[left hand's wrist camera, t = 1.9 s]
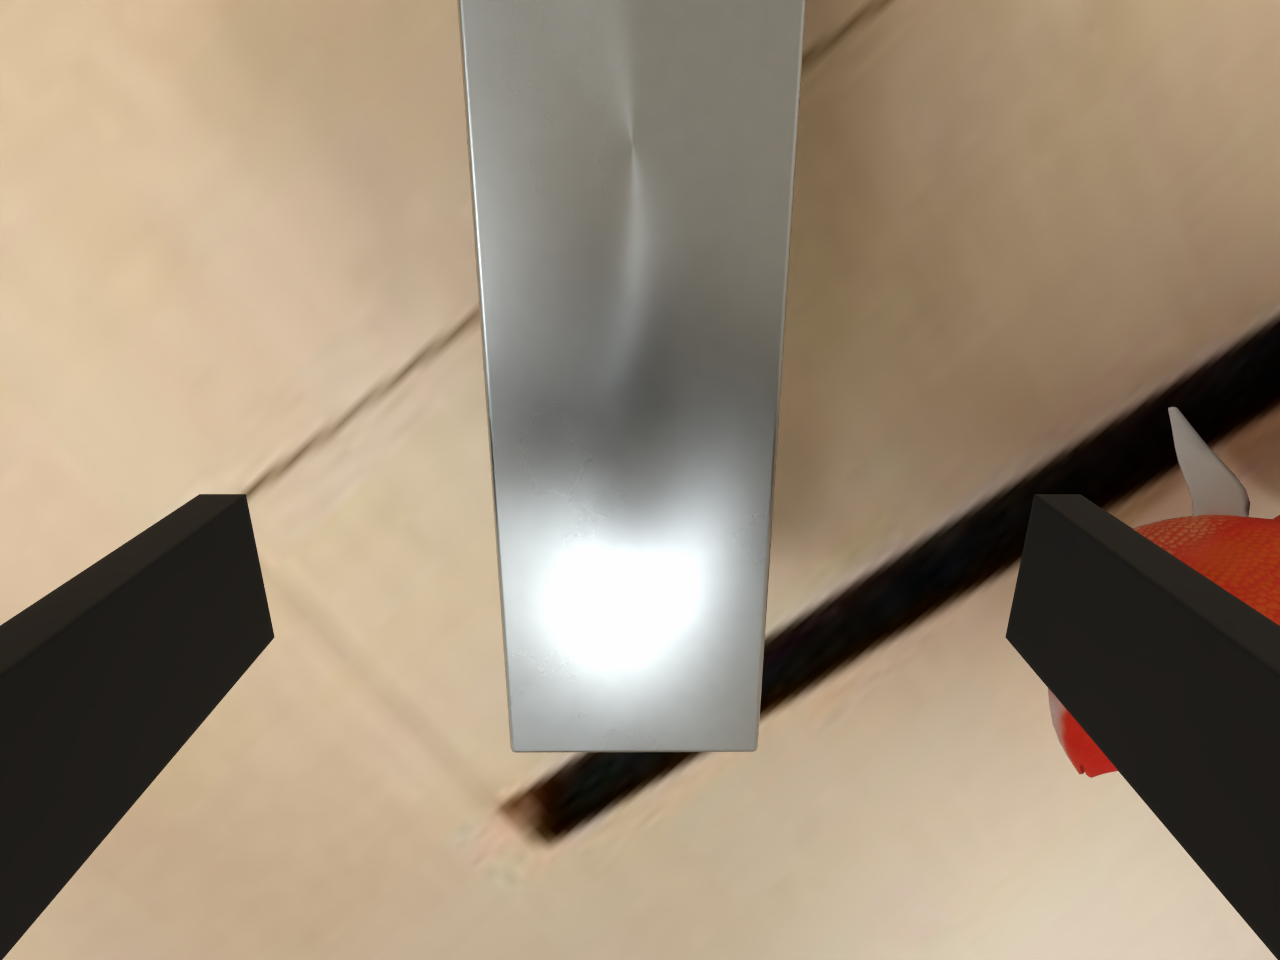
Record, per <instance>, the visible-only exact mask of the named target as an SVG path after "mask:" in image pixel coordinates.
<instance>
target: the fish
mask: <svg viewBox="0 0 1280 960" xmlns="http://www.w3.org/2000/svg"><path fill="white" fill-rule="evenodd" d="M1168 411H1169V416H1170V421H1171V426H1172V432H1173V438H1174V444H1175V449H1176V454H1177V458H1178V462H1179V464H1180V467H1181V470H1182V473H1183V475H1184V478H1185V481H1186V483H1187V486H1188V488H1189V492H1190V495H1191V498H1192V505H1193V514H1192V516H1188V517H1180V518H1174V519H1167V520H1162V521H1158V522H1154V523H1150V524H1146V525H1143V526H1140V527H1136V528H1133V529H1134V530H1135V531H1137V532H1138V533H1140V534H1141V535H1143V536H1144V537H1146V538H1147V539H1149V540H1150V541H1152V542H1153V543H1155V544H1156V545H1158V546H1159V547H1161V548H1162V549H1164V550H1165V551H1167V552H1168V553H1170V554H1172V555H1173V556H1175V557H1176V558H1178V559H1179V560H1181V561H1182V562H1184V563H1185V564H1187V565H1188V566H1190V567H1191V568H1193V569H1194V570H1196V571H1197V572H1199V573H1200V574H1202V575H1203V576H1205V577H1206V578H1208V579H1209V580H1211V581H1213V582H1214V583H1216V584H1217V585H1219V586H1220V587H1222V588H1223V589H1225V590H1226V591H1228V592H1229V593H1231V594H1232V595H1234V596H1235V597H1237V598H1238V599H1240V600H1241V601H1243V602H1244V603H1246V604H1247V605H1249V606H1250V607H1252V608H1253V609H1255V610H1257V611H1258V612H1260V613H1261V614H1263V615H1264V616H1266V617H1267V618H1269V619H1270V620H1272V621H1273V622H1275V623H1276V624H1278V625H1279V626H1280V515H1279V516H1277V517H1276V518H1274V519H1263V518H1251V517H1248V515H1249V508H1250V501H1249V498H1248V495H1247V492H1246V489H1245V488H1244V487H1243V485H1242V484H1241V483H1240V481H1239V480H1238V479H1237V477H1236V476H1235V475H1234V474H1233V473H1232V472H1231V471H1230V469H1229V468H1228V467H1227V466H1226V465H1225V464H1224V463H1223V462H1222V461H1221V460H1220V459H1219V458H1218V457H1217V455H1216V454H1215V453H1214V452H1213V451H1212V450H1211V449H1210V448H1209V447H1208V445H1207V444H1206V443H1205V442H1204V441H1203V439H1202V438H1201V437H1200V436H1199V435H1198V433H1197V432H1196V431H1195V430H1194V429H1193V427H1192V426H1191V425H1190V423H1189V422H1188V421H1187V420H1186V418H1185V417H1184V416H1183V414H1182V413H1181V412H1180V411H1179V409H1178V408H1176V407H1170V408H1168ZM1048 694H1049V705H1050V711H1051V716H1052V722H1053V726H1054V728H1055V731H1056V734H1057V736H1058V739H1059V742H1060V743H1061V745H1062V747H1063V749H1064V751H1065V753H1066V754H1067V756H1068V758H1069V759H1070V761H1071V762H1072V764H1073V765H1074V767H1075V768H1076V770H1077V771H1078V773H1079V774H1083V773H1084V772H1085V773H1086V775H1088V776H1089V777H1091V778H1092V777H1095V776H1097V775H1101V774H1105V773H1109V772H1114V771H1118V770H1117V769H1116V767H1115V766H1114V765H1113V764H1112V763H1111V761H1110V760H1109V759H1108V758H1107V757H1106V756H1105V754H1104V753H1103V752H1102V751H1101V750H1100V748H1099V747H1098V746H1097V745H1096V744H1095V743H1094V741H1093V740H1092V739H1091V738H1090V737H1089V735H1088V734H1087V733H1086V732H1085V731H1084V729H1083V728H1082V727H1081V726H1080V725H1079V724H1078V722H1077V721H1076V720H1075V719H1074V718H1073V716H1072V715H1071V714H1070V713H1069V712H1068V711H1067V709H1066V708H1065V707H1064V706H1063V705H1062V703H1061V702H1060V701H1059V700H1058V699H1057V698H1056V696H1055V695H1054V694H1053V693H1052V692H1051V690H1050V689H1049V688H1048Z"/></svg>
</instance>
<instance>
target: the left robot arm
mask: <svg viewBox="0 0 1280 960" xmlns="http://www.w3.org/2000/svg"><path fill="white" fill-rule="evenodd" d="M273 638H274V633H273V628H272V623H271V618H270V613H269V608H268V603H267V598H266V593H265V588H264V583H263V578H262V573H261V568H260V563H259V558H258V553H257V548H256V543H255V538H254V533H253V528H252V523H251V518H250V513H249V508H248V503H247V498H246V494H200V495H198V496H196V497H195V498H193V499H192V500H190V501H189V502H187V503H186V504H184V505H183V506H181V507H180V508H178V509H177V510H175V511H174V512H172V513H171V514H169V515H168V516H166V517H165V518H163V519H162V520H160V521H159V522H157V523H156V524H154V525H152V526H151V527H149V528H148V529H146V530H145V531H143V532H142V533H140V534H139V535H137V536H136V537H134V538H133V539H131V540H130V541H128V542H127V543H125V544H124V545H122V546H121V547H119V548H118V549H116V550H115V551H113V552H111V553H110V554H108V555H107V556H105V557H104V558H102V559H101V560H99V561H98V562H96V563H95V564H93V565H92V566H90V567H89V568H87V569H86V570H84V571H83V572H81V573H80V574H78V575H77V576H75V577H74V578H72V579H71V580H69V581H67V582H66V583H64V584H63V585H61V586H60V587H58V588H57V589H55V590H54V591H52V592H51V593H49V594H48V595H46V596H45V597H43V598H42V599H40V600H39V601H37V602H36V603H34V604H33V605H31V606H30V607H28V608H27V609H25V610H23V611H22V612H20V613H19V614H17V615H16V616H14V617H13V618H11V619H10V620H8V621H7V622H5V623H4V624H2V625H1V626H0V960H2V959H3V958H4V957H5V956H6V955H7V953H8V952H9V951H10V950H11V949H12V947H13V946H14V945H15V944H16V943H17V941H18V940H19V939H20V938H21V937H22V936H23V934H24V933H25V932H26V931H27V930H28V928H29V927H30V926H31V925H32V924H33V923H34V921H35V920H36V919H37V918H38V917H39V915H40V914H41V913H42V912H43V911H44V910H45V908H46V907H47V906H48V905H49V904H50V902H51V901H52V900H53V899H54V898H55V896H56V895H57V894H58V893H59V892H60V891H61V889H62V888H63V887H64V886H65V885H66V883H67V882H68V881H69V880H70V879H71V878H72V876H73V875H74V874H75V873H76V872H77V870H78V869H79V868H80V867H81V866H82V865H83V863H84V862H85V861H86V860H87V859H88V857H89V856H90V855H91V854H92V853H93V851H94V850H95V849H96V848H97V847H98V846H99V844H100V843H101V842H102V841H103V840H104V838H105V837H106V836H107V835H108V834H109V833H110V831H111V830H112V829H113V828H114V827H115V825H116V824H117V823H118V822H119V821H120V820H121V818H122V817H123V816H124V815H125V814H126V812H127V811H128V810H129V809H130V808H131V806H132V805H133V804H134V803H135V802H136V801H137V799H138V798H139V797H140V796H141V795H142V793H143V792H144V791H145V790H146V789H147V788H148V786H149V785H150V784H151V783H152V782H153V780H154V779H155V778H156V777H157V776H158V775H159V773H160V772H161V771H162V770H163V769H164V767H165V766H166V765H167V764H168V763H169V761H170V760H171V759H172V758H173V757H174V756H175V754H176V753H177V752H178V751H179V750H180V748H181V747H182V746H183V745H184V744H185V743H186V741H187V740H188V739H189V738H190V737H191V735H192V734H193V733H194V732H195V731H196V729H197V728H198V727H199V726H200V725H201V724H202V722H203V721H204V720H205V719H206V718H207V716H208V715H209V714H210V713H211V712H212V711H213V709H214V708H215V707H216V706H217V705H218V703H219V702H220V701H221V700H222V699H223V698H224V696H225V695H226V694H227V693H228V692H229V690H230V689H231V688H232V687H233V686H234V684H235V683H236V682H237V681H238V680H239V679H240V677H241V676H242V675H243V674H244V673H245V671H246V670H247V669H248V668H249V667H250V666H251V664H252V663H253V662H254V661H255V660H256V658H257V657H258V656H259V655H260V654H261V653H262V651H263V650H264V649H265V648H266V647H267V645H268V644H269V643H270V642H271V641H272V639H273ZM1006 638H1007V639H1008V641H1009V642H1010V643H1011V644H1012V645H1013V647H1014V648H1015V649H1016V650H1017V651H1018V653H1019V654H1020V655H1021V656H1022V657H1023V658H1024V660H1025V661H1026V662H1027V663H1028V664H1029V666H1030V667H1031V668H1032V669H1033V670H1034V671H1035V673H1036V674H1037V675H1038V676H1039V677H1040V679H1041V680H1042V681H1043V682H1044V683H1045V684H1046V686H1047V687H1048V688H1049V689H1050V690H1051V692H1052V693H1053V694H1054V695H1055V696H1056V698H1057V699H1058V700H1059V701H1060V702H1061V703H1062V705H1063V706H1064V707H1065V708H1066V709H1067V711H1068V712H1069V713H1070V714H1071V715H1072V716H1073V718H1074V719H1075V720H1076V721H1077V722H1078V724H1079V725H1080V726H1081V727H1082V728H1083V729H1084V731H1085V732H1086V733H1087V734H1088V735H1089V737H1090V738H1091V739H1092V740H1093V741H1094V743H1095V744H1096V745H1097V746H1098V747H1099V748H1100V750H1101V751H1102V752H1103V753H1104V754H1105V756H1106V757H1107V758H1108V759H1109V760H1110V761H1111V763H1112V764H1113V765H1114V766H1115V767H1116V769H1117V770H1118V771H1119V772H1120V773H1121V775H1122V776H1123V777H1124V778H1125V779H1126V780H1127V782H1128V783H1129V784H1130V785H1131V786H1132V788H1133V789H1134V790H1135V791H1136V792H1137V793H1138V795H1139V796H1140V797H1141V798H1142V799H1143V801H1144V802H1145V803H1146V804H1147V805H1148V806H1149V808H1150V809H1151V810H1152V811H1153V812H1154V814H1155V815H1156V816H1157V817H1158V818H1159V820H1160V821H1161V822H1162V823H1163V824H1164V825H1165V827H1166V828H1167V829H1168V830H1169V831H1170V833H1171V834H1172V835H1173V836H1174V837H1175V838H1176V840H1177V841H1178V842H1179V843H1180V844H1181V846H1182V847H1183V848H1184V849H1185V850H1186V851H1187V853H1188V854H1189V855H1190V856H1191V857H1192V859H1193V860H1194V861H1195V862H1196V863H1197V865H1198V866H1199V867H1200V868H1201V869H1202V870H1203V872H1204V873H1205V874H1206V875H1207V876H1208V878H1209V879H1210V880H1211V881H1212V882H1213V883H1214V885H1215V886H1216V887H1217V888H1218V889H1219V891H1220V892H1221V893H1222V894H1223V895H1224V896H1225V898H1226V899H1227V900H1228V901H1229V902H1230V904H1231V905H1232V906H1233V907H1234V908H1235V910H1236V911H1237V912H1238V913H1239V914H1240V915H1241V917H1242V918H1243V919H1244V920H1245V921H1246V923H1247V924H1248V925H1249V926H1250V927H1251V928H1252V930H1253V931H1254V932H1255V933H1256V934H1257V936H1258V937H1259V938H1260V939H1261V940H1262V941H1263V943H1264V944H1265V945H1266V946H1267V947H1268V949H1269V950H1270V951H1271V952H1272V953H1273V955H1274V956H1275V957H1276V958H1277V959H1278V960H1280V626H1279V625H1278V624H1276V623H1275V622H1273V621H1272V620H1270V619H1269V618H1267V617H1266V616H1264V615H1263V614H1261V613H1260V612H1258V611H1257V610H1255V609H1253V608H1252V607H1250V606H1249V605H1247V604H1246V603H1244V602H1243V601H1241V600H1240V599H1238V598H1237V597H1235V596H1234V595H1232V594H1231V593H1229V592H1228V591H1226V590H1225V589H1223V588H1222V587H1220V586H1219V585H1217V584H1216V583H1214V582H1213V581H1211V580H1209V579H1208V578H1206V577H1205V576H1203V575H1202V574H1200V573H1199V572H1197V571H1196V570H1194V569H1193V568H1191V567H1190V566H1188V565H1187V564H1185V563H1184V562H1182V561H1181V560H1179V559H1178V558H1176V557H1175V556H1173V555H1172V554H1170V553H1168V552H1167V551H1165V550H1164V549H1162V548H1161V547H1159V546H1158V545H1156V544H1155V543H1153V542H1152V541H1150V540H1149V539H1147V538H1146V537H1144V536H1143V535H1141V534H1140V533H1138V532H1137V531H1135V530H1134V529H1132V528H1131V527H1129V526H1128V525H1126V524H1124V523H1123V522H1121V521H1120V520H1118V519H1117V518H1115V517H1114V516H1112V515H1111V514H1109V513H1108V512H1106V511H1105V510H1103V509H1102V508H1100V507H1099V506H1097V505H1096V504H1094V503H1093V502H1091V501H1090V500H1088V499H1087V498H1085V497H1084V496H1082V495H1080V494H1034V498H1033V503H1032V508H1031V513H1030V518H1029V523H1028V528H1027V533H1026V538H1025V543H1024V548H1023V553H1022V558H1021V563H1020V568H1019V573H1018V578H1017V583H1016V588H1015V593H1014V598H1013V603H1012V608H1011V613H1010V618H1009V623H1008V628H1007V633H1006Z"/></svg>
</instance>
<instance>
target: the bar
mask: <svg viewBox="0 0 1280 960" xmlns="http://www.w3.org/2000/svg"><path fill="white" fill-rule="evenodd" d="M805 7H806V0H458V14H459V28H460V42H461V56H462V70H463V84H464V98H465V112H466V126H467V140H468V154H469V168H470V182H471V196H472V210H473V224H474V238H475V252H476V266H477V280H478V294H479V308H480V323H481V337H482V351H483V365H484V379H485V393H486V407H487V421H488V435H489V449H490V463H491V477H492V491H493V505H494V519H495V533H496V547H497V561H498V575H499V589H500V603H501V617H502V631H503V645H504V659H505V673H506V687H507V701H508V715H509V729H510V743H511V749H512V751H513V752H753V751H756V749H757V747H758V732H759V716H760V701H761V686H762V670H763V655H764V639H765V624H766V609H767V593H768V578H769V562H770V547H771V531H772V516H773V501H774V485H775V470H776V454H777V439H778V424H779V408H780V393H781V377H782V362H783V346H784V331H785V316H786V300H787V285H788V269H789V254H790V238H791V223H792V208H793V192H794V177H795V161H796V146H797V131H798V115H799V100H800V84H801V69H802V53H803V38H804V23H805Z"/></svg>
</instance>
